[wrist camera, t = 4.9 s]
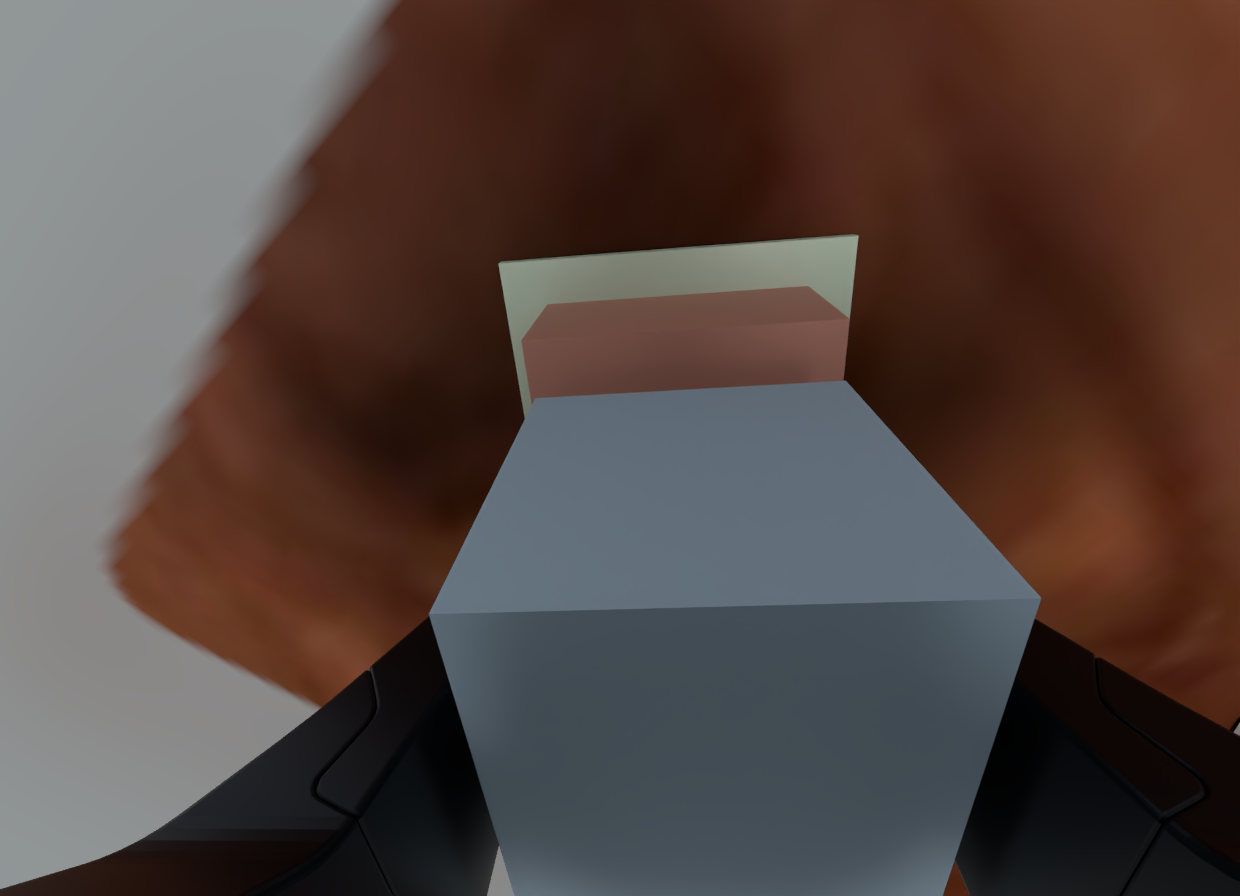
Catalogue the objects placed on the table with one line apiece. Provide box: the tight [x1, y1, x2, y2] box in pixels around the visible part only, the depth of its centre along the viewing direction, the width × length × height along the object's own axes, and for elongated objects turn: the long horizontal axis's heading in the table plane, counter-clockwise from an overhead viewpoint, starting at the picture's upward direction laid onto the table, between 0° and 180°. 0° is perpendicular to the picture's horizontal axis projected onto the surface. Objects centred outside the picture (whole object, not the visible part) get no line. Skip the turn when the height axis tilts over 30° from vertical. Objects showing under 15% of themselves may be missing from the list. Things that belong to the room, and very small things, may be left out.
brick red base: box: [521, 286, 850, 404], centre depth 13 cm, size 6×6×3 cm
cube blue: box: [429, 381, 1041, 896], centre depth 8 cm, size 5×5×5 cm
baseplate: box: [498, 234, 858, 418], centre depth 14 cm, size 8×8×1 cm
